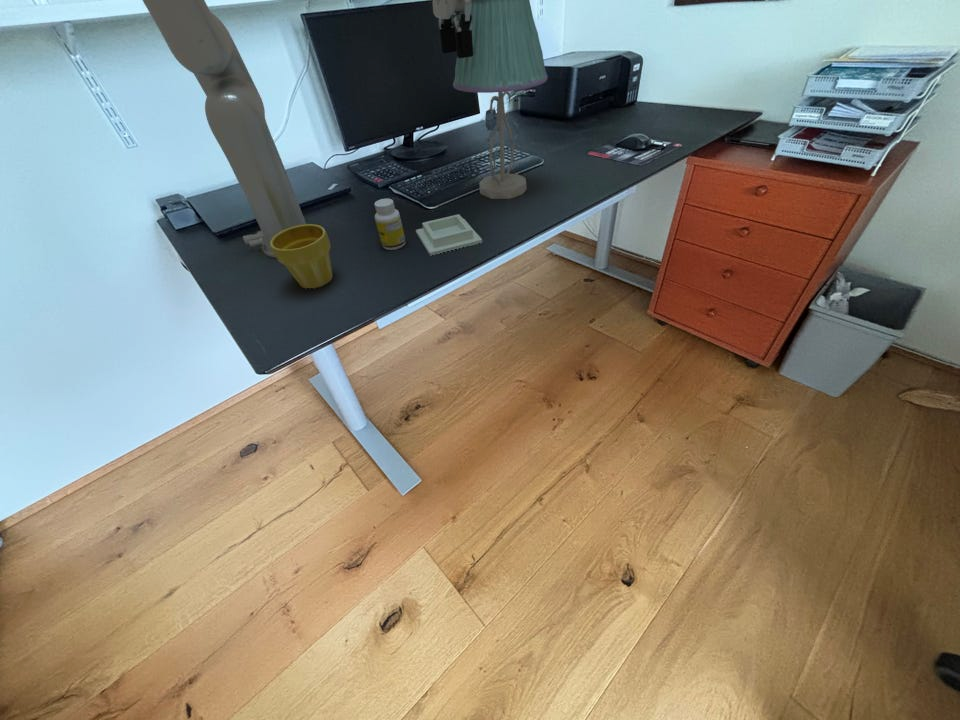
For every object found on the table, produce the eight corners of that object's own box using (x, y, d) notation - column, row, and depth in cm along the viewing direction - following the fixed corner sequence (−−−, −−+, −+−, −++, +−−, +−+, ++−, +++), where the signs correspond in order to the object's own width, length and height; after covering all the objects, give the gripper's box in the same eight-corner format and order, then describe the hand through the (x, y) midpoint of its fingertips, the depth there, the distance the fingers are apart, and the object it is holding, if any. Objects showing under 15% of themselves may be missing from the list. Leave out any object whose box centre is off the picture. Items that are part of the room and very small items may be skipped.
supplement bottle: (380, 242, 92) (369, 200, 86) (403, 237, 94) (394, 194, 87) (384, 253, 89) (373, 209, 82) (408, 247, 90) (399, 204, 83)
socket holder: (430, 256, 86) (428, 244, 84) (416, 233, 94) (414, 221, 93) (482, 242, 89) (481, 231, 87) (464, 221, 97) (462, 210, 95)
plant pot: (281, 295, 79) (259, 250, 72) (301, 267, 87) (282, 224, 80) (332, 294, 78) (314, 248, 71) (347, 266, 86) (332, 222, 79)
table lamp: (487, 171, 120) (477, -10, 93) (555, 180, 112) (567, -16, 84) (448, 199, 107) (423, -1, 80) (521, 212, 99) (522, -8, 71)
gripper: (413, -60, 76) (427, 53, 88) (441, -70, 64) (453, 62, 76) (450, -63, 78) (459, 48, 89) (484, -73, 66) (490, 56, 78)
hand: (457, 54), depth 83 cm, fingers open, 9 cm apart
